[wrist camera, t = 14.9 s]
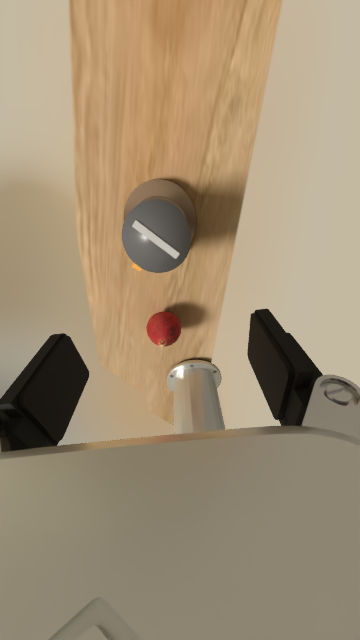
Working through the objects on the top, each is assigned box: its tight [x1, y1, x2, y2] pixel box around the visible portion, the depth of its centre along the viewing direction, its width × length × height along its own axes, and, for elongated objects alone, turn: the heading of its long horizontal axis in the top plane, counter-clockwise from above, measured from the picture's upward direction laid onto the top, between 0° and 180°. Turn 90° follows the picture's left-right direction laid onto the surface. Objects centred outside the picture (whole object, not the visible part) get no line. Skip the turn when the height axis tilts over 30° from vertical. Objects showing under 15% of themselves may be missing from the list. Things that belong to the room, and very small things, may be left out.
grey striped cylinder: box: [122, 196, 191, 273], centre depth 22 cm, size 7×8×5 cm
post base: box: [124, 179, 196, 241], centre depth 26 cm, size 10×10×5 cm
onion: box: [146, 312, 181, 347], centre depth 35 cm, size 6×6×8 cm
